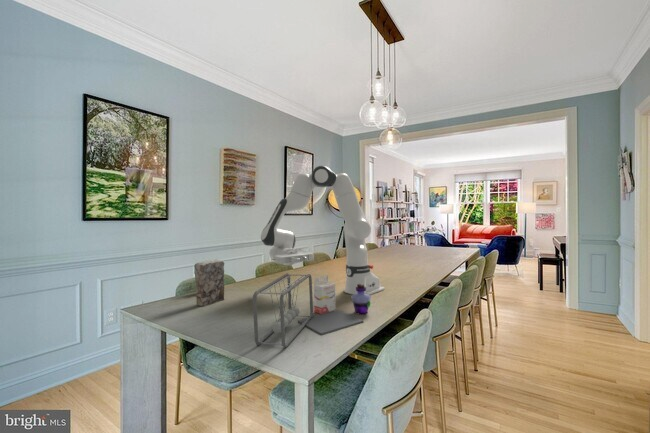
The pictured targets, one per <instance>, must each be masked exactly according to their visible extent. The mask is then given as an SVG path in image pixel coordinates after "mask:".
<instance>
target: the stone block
mask: <svg viewBox="0 0 650 433" xmlns="http://www.w3.org/2000/svg"><path fill="white" fill-rule="evenodd" d="M193 268H194V269H193V270H194V271H193V272H194V278H195V297H196V298H195V299H196V305H197V306H200V307H206V306H210V305H212V304H216V303H219V302H221V301H225V269H224V268H225V262H224V261H222V260H219V259H212V260H210V259H209V260H204V261H200V262H196V263H195V264H194V267H193Z"/></svg>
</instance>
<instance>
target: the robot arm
mask: <svg viewBox="0 0 650 433" xmlns="http://www.w3.org/2000/svg"><path fill="white" fill-rule="evenodd" d="M327 187H329V188H331V190H332V192H333V195H334V197H335V201H336V204H337V207H338V210H339V213H340V215H341V216H342V218H343V220H344V223H343V234H344V242H345V250H346V251H345V252H346V264H345V274H346V276H345V278H346V280H345V283H344V284H345V286H344V288H343V289H344V290H343V292H344V293H346V294H349V295H354V294H358V292H357V291H356V287H358V286H357V284H364V287H366V291H364V294H368V295H370V296H372V295H373V294H376V293H378V292H382V291H384V290H385V286H383V285H381V282H380V279H379V277H378V276H376V274H374V273H373V272H372V271H371V270H373V269H374V268H375V267H374V265H373V264H369V263H368V248H367V245H366V241H365V240H366V239H367V238H368V237H369V236H370V235H371V232H372V227H371V225H370V223H369V221H368V219H367V216H366V214H365V212H364V211H363V209H362V206H361V204H360V202H359V199H358V195H357V192H356V190H355V186H354V185H353V182H352V180H351V178H350V176H349V175H348V174H347V173H343V172H342V173H335V172H334V171H333V170H332V169H331V168H330V167H328V166H326V165H317V166H315V168H314V169H313V170H312V172H311V173H310V174H309V173H306V172H302V173H298V175H297V176H296V178H295V180H294V181H293V183H292V186H291V189H290V191H289V193H288V195H287V196H286V197H285V198H282V199H281V200H280V201H279V203H278V204H277V206H276V207H275V209H274V211H273V213H272V215H271V217H270V218H269V220H268V222H267V224H266V225H265V227H264V228H263V230H262V231H261V234H260V240H261V242H262V243H263V245H264V246H269V247H271V248H270V250H269V257H270V259H271V261H274V263H275V264H276V265H284V266H285V265H286V266H293V265H296V264H298V263H302V262H309V261H314V260H315V259H314V257H315V255H314V252H311V251H307V250H304V248H295V246H296V242H297V241H296V240H297V239H296V236H295V234H294V232H293V231H290V230H287V229H282V228H278V226H279V225H280V222H281V220H282V218H283V217H284V215H286V214H287V213H290V212H295V211H300V210H303V209H305V208H306V207H307V206H308V204H309V203H310V199H311V196H312V193H313V191H314V189H316V188H327Z"/></svg>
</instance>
